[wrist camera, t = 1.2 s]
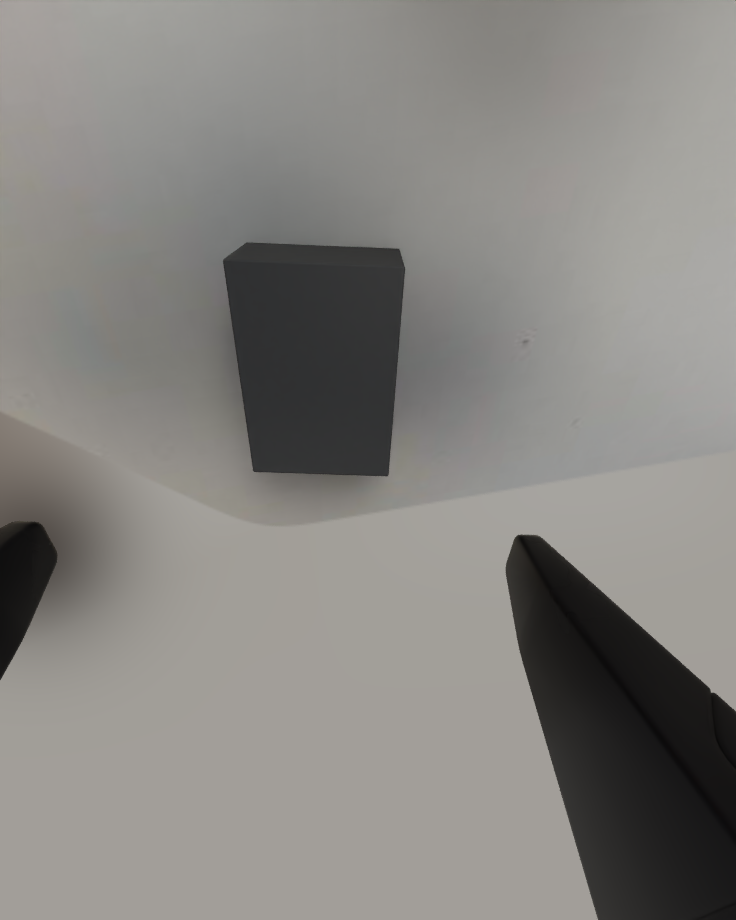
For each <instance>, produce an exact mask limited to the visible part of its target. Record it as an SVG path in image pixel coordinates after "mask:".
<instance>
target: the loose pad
mask: <svg viewBox="0 0 736 920" xmlns="http://www.w3.org/2000/svg"><path fill="white" fill-rule="evenodd" d="M223 264H224V271H225V277H226V284H227V291H228V298H229V305H230V312H231V319H232V326H233V333H234V340H235V347H236V354H237V361H238V368H239V375H240V382H241V389H242V396H243V402H244V409H245V416H246V423H247V430H248V437H249V444H250V451H251V458H252V465H253V471H254V472H274V473H304V474H335V475H365V476H388V474H389V461H390V449H391V436H392V424H393V411H394V399H395V386H396V374H397V362H398V349H399V337H400V324H401V312H402V299H403V287H404V274H405V267H404V263H403V260H402V257H401V253H400V250H399V249H387V248H363V247H339V246H315V245H291V244H267V243H246V244H244V245H243V246H241V247H240V248H239V249H237V250H236V251H234V252H233V253H232V254H230V255H229V256H227V257H226V258H225V259H223Z"/></svg>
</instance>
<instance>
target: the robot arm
mask: <svg viewBox="0 0 736 920" xmlns="http://www.w3.org/2000/svg"><path fill="white" fill-rule="evenodd" d="M56 563H57V551H56V549H55V547H54V546H53V543H52V542H51V540H50V538H49V536H48V534H47V532H46V531H45V529H44V527H43V526H42V525H41V524H40V523H38V522H28V521H27V522H26V521H17V522H12V523H9V524H8V525H5V526H4V527H2V528H0V680H1V678H2V676H3V674H4V673H5V671H6V669H7V667H8V665H9V664H10V662H11V660H12V659H13V657H14V655H15V653H16V651H17V649H18V647H19V646H20V644H21V642H22V640H23V638H24V636H25V633H26V631H27V629H28V627H29V625H30V623H31V621H32V618H33V616H34V614H35V611H36V609H37V607H38V605H39V602H40V600H41V598H42V595H43V593H44V591H45V589H46V586H47V584H48V582H49V579H50V577H51V575H52V573H53V570H54V568H55V565H56ZM506 577H507V583H508V589H509V594H510V600H511V606H512V611H513V617H514V623H515V629H516V634H517V640H518V644H519V650H520V653H521V657H522V661H523V665H524V668H525V672H526V675H527V678H528V682H529V685H530V689H531V692H532V695H533V699H534V702H535V706H536V709H537V712H538V716H539V719H540V723H541V726H542V730H543V733H544V736H545V739H546V743H547V746H548V750H549V753H550V757H551V760H552V764H553V767H554V771H555V774H556V777H557V781H558V784H559V787H560V791H561V795H562V798H563V801H564V805H565V808H566V811H567V815H568V818H569V822H570V825H571V829H572V832H573V836H574V839H575V842H576V846H577V849H578V852H579V856H580V860H581V863H582V866H583V869H584V873H585V877H586V880H587V883H588V887H589V890H590V894H591V897H592V900H593V904H594V907H595V911H596V914H597V917H598V920H736V711H735V710H734V709H732V708H731V707H730V706H729V705H728V704H727V703H726V702H725V701H723V700H722V699H721V698H720V697H719V696H718V695H717V694H715V693H711V691H710V688H709V687H708V686H706V685H705V684H704V683H703V682H702V681H701V680H700V679H699V678H698V677H696V676H695V675H694V674H693V673H692V672H691V671H690V670H689V669H687V668H686V667H685V666H684V665H683V664H682V663H681V662H680V661H679V660H678V659H676V658H675V657H674V656H673V655H672V654H671V653H670V652H668V651H667V650H666V649H665V648H664V647H663V646H662V645H661V644H659V643H658V642H657V641H656V640H655V639H654V638H653V637H652V636H651V635H650V634H648V633H647V632H646V631H645V630H644V629H643V628H642V627H641V626H640V625H638V624H637V623H636V622H635V621H634V620H633V619H631V617H630V616H628V615H627V614H626V613H625V612H624V611H623V610H622V609H621V608H619V607H618V606H617V605H616V604H615V603H614V602H613V601H612V600H611V599H609V598H608V597H607V596H606V595H605V594H604V593H603V592H602V591H601V590H599V589H598V588H597V587H596V586H595V585H594V584H593V583H591V582H590V581H589V580H588V579H587V578H586V577H585V576H584V575H583V574H581V573H580V572H579V571H578V570H577V569H576V568H575V567H574V566H573V565H572V564H570V563H569V562H568V561H567V560H566V559H565V558H564V557H563V556H561V555H560V554H559V553H558V552H557V551H556V550H555V549H554V548H553V547H551V546H550V545H549V544H548V543H547V542H546V541H545V540H543V538H541V537H540V536H537V535H518V536H516V537H515V539H514V542H513V545H512V548H511V551H510V554H509V557H508V560H507V563H506Z"/></svg>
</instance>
